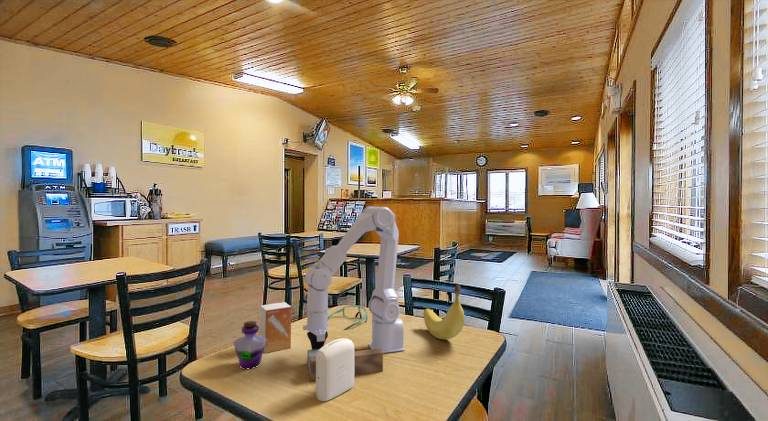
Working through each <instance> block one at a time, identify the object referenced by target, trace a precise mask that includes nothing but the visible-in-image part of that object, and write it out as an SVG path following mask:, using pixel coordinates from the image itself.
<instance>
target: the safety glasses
mask: <svg viewBox="0 0 768 421" xmlns="http://www.w3.org/2000/svg"><path fill="white" fill-rule="evenodd" d="M350 307H351V308H352V307H354V308H355V307H356V308H358V309H357V310H358V311H357V312H356V314H355V315H354V316H355V318H358V316H359V318H360V320H358V321H356V322H353V323H352V324H350V325H348V326H347V327H345V328H344V329H342V331H347V330H348V329H350V328H352V327H354V326H356V325H358V324H359V323H361V322H363V320H364V322H365V323H367V322H368V311H367V309H366V308H365V307H364V306H361V305H357V304H350V305H347V306H344V307H342V308H340V309H337V310H335V311H334V312H333V313H331V314H330V315H329V314H328V319H330V318H331V317H333V316H334V315H335V314H338V313H341V312H342V315H343V317H349V318H350V316H349V315H345V308H350ZM361 309H363V311H365V314H364V316H363V314H362V312H361Z"/></svg>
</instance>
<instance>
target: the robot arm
mask: <svg viewBox="0 0 768 421" xmlns="http://www.w3.org/2000/svg"><path fill="white" fill-rule="evenodd" d="M371 231H374V232H375V233H376V234H377V235H378V236H379V237H380V244H379V245H380V246H379V256H378V257H379V258H378V268H377V277H376V278H377V279H376V287H375V288H374V290H372V294H371V298H370V300H369V302H368V310H369V312H370V313H371V318H372V319H371V322H372V323H371V326H372V327H371V342H368V343H367V345H368V347H369V348H370V350H372V349H380V350H381V351H382V352H383V354H385V353H395V352H403V351H405V348H404V339H405V338H404V334H405V333H404V332H405V330H404V323H403V321H402V319H401V318H400V317H399V316H400V314H401V310H400V309H401V308H400V305H399V296H398V294H397V293H396V290H395V282H396V281H395V280H396V271H397V260H398V259H397V257H398V246H399V239H400V238H399V236H400V231H399V228H398V226H397V223H396V214H395V213H394V212H393V211H392V210H391V209H390V208H389V207H387V206H372V205H370V206H366V207H364V209H363V210H362V211H361V212H360V213H359V214H358V215H357V217H356V219H355V220H354V222H353V224H352V225H351V226H350V227H349V228H348V230H347V232H346V233H345V234H344V235H343V236H342V238H341V239H340V241H339V242H338V244H336V245H331V246H330V247H326V249H324V252H325V253H324V254H323V256H322V257H320V258H319V260H318V261H316V262H315V263H314V266H313V267H310V268H308V270H307V271H306V272H305V273H306V274H305V276H304V277H303V278H304V282H305V283H306V284H307V294H306V295H307V296H306V297H307V298H306V299H307V300H306V304H307V306H306V307H307V310H306V311H307V312H306V316H307V317H306V320H307V321H306V322H307V323H306V325H303V326H302V330H303V331H307V332H306V335H307V337H308V340H309V342H310V347H311V350H313V349H320V348H322V347H323V346H324V345H325V344H326V341H327V339H328V336H329V333H328V329H329V324H328V323H329V322H328V321H329V318H328V316H329V311H328V310H329V308H328V307H329V306H328V305H329V292H328V291H329V286H331V284H332V282H333V279H332V277H333V276H334V275H335V273H336V272H337V271H338V270H339V269H340V267H341V266H342V265H343V263H344V262H345V261H346V260H347V256H348V255H347V252H348V251H349V250H350V249H351V248H352V247H353V246H354V244H356V242H358V240H359V239H360V238H362V235H364V234H365V233H368V232H371Z"/></svg>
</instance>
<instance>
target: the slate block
mask: <svg viewBox="0 0 768 421" xmlns="http://www.w3.org/2000/svg"><path fill="white" fill-rule="evenodd" d="M318 350H319V349H313V350H312V349H307V359H306V360H307V368H308V372H309V373H310V357H311V356H316V353H317V351H318Z"/></svg>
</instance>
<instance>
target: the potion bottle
mask: <svg viewBox="0 0 768 421" xmlns="http://www.w3.org/2000/svg"><path fill="white" fill-rule="evenodd" d="M258 332H260V325H257V321H256V320H249V321H245V322H243V326H242V327H241V333H242V334H244V336H241V337H238V338H237V339H236V340H234V341H233V345H234V346H233V347H234V350H235V354H236V355H237V358H238V363H239V366H241V367H242V368H244V369H243V370H252V368H253V367H256V366H258V365H259V364H260V363H261V361H262V357H263V352H264V351H263V350H264V348H265V343H266V339H267V338H265V337H263V336H261V335H260V334H257V333H258ZM260 365H261V364H260ZM260 365H259V366H260ZM242 368H241V369H242ZM247 368H249V369H247ZM256 368H257V367H256ZM253 369H254V368H253Z"/></svg>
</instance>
